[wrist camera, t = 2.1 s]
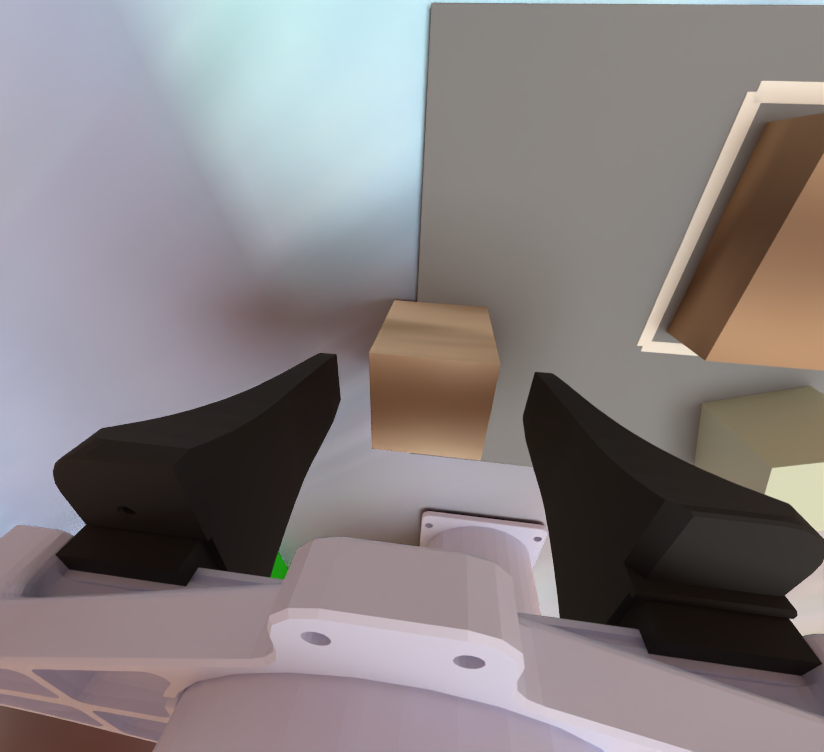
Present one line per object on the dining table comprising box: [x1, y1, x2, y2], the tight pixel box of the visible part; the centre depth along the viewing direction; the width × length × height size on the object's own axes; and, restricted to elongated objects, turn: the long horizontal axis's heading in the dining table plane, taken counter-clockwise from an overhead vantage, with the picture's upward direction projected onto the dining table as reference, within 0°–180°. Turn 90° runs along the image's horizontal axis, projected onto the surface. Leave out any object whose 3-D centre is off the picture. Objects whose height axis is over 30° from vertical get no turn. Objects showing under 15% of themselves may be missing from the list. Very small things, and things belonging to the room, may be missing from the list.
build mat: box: [410, 3, 824, 467], centre depth 14 cm, size 18×18×1 cm
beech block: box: [369, 300, 501, 460], centre depth 13 cm, size 4×4×5 cm
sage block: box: [694, 386, 824, 531], centre depth 14 cm, size 4×4×4 cm
